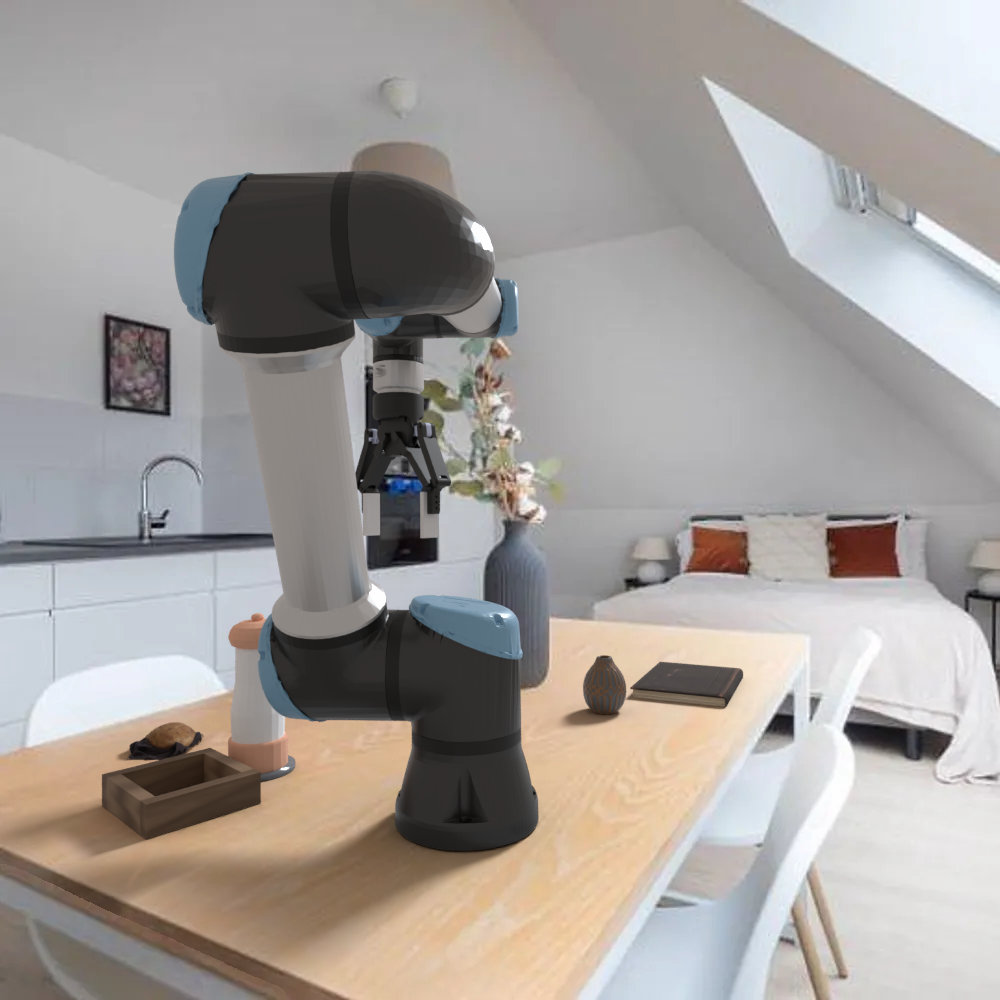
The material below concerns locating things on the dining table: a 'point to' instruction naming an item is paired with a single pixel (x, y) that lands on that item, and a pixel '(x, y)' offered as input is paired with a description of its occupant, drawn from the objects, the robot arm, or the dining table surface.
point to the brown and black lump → (165, 742)
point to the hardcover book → (689, 684)
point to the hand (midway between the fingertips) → (399, 536)
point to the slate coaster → (279, 770)
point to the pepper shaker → (254, 706)
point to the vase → (604, 686)
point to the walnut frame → (180, 791)
